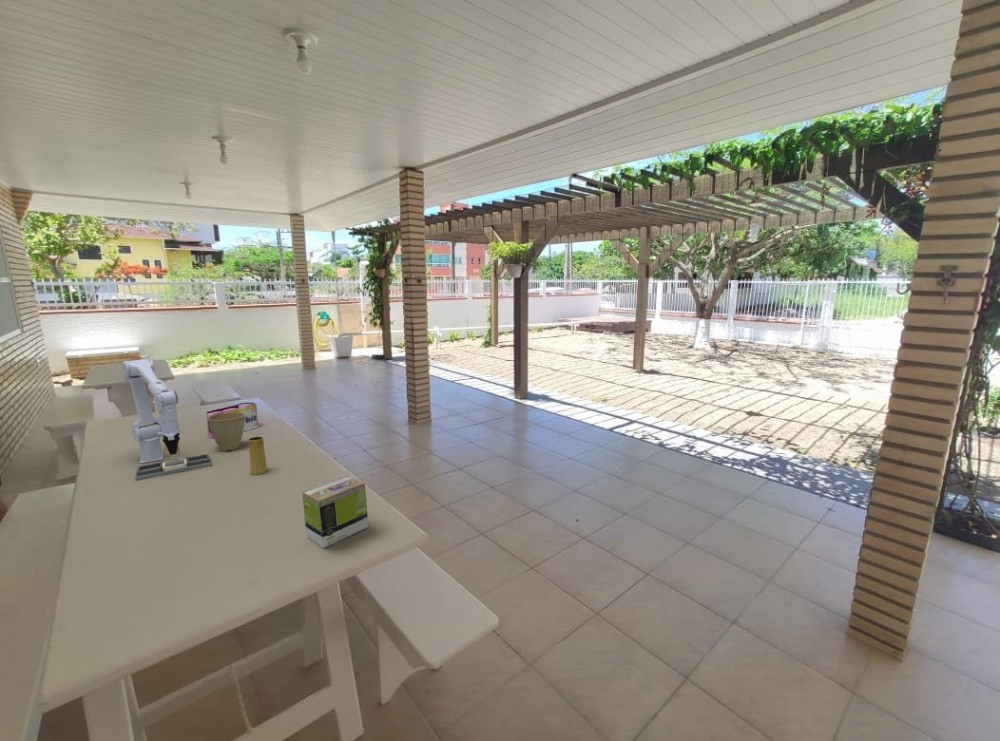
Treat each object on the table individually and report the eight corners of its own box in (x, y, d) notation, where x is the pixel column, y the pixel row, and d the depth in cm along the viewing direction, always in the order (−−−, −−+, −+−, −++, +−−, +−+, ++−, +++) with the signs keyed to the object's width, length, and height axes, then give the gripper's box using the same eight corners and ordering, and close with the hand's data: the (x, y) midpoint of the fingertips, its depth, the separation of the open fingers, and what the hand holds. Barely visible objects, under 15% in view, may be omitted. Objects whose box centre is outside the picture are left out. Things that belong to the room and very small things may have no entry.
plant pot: (235, 454, 197) (232, 420, 195) (203, 454, 198) (199, 420, 195) (254, 443, 212) (251, 411, 210) (224, 443, 212) (221, 411, 210)
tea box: (350, 518, 140) (348, 474, 138) (369, 528, 134) (366, 482, 131) (305, 537, 128) (301, 490, 126) (322, 549, 122) (319, 500, 120)
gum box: (215, 440, 217) (212, 413, 215) (205, 438, 221) (202, 412, 218) (259, 427, 239) (256, 403, 237) (249, 425, 242) (247, 402, 240)
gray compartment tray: (137, 471, 177) (136, 465, 177) (210, 458, 192) (209, 452, 192) (135, 480, 169) (134, 474, 168) (212, 465, 184) (211, 460, 183)
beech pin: (166, 455, 180) (164, 441, 179) (180, 453, 183) (177, 439, 182) (166, 458, 177) (164, 444, 176) (180, 456, 179) (177, 442, 178)
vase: (259, 475, 174) (256, 441, 171) (246, 474, 175) (243, 440, 172) (270, 469, 179) (267, 436, 177) (257, 468, 181) (254, 435, 178)
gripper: (156, 418, 181) (161, 449, 183) (156, 426, 169) (160, 459, 171) (178, 415, 185) (181, 446, 187) (178, 423, 173) (183, 455, 176)
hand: (173, 452), depth 179 cm, fingers closed on beech pin, 4 cm apart
